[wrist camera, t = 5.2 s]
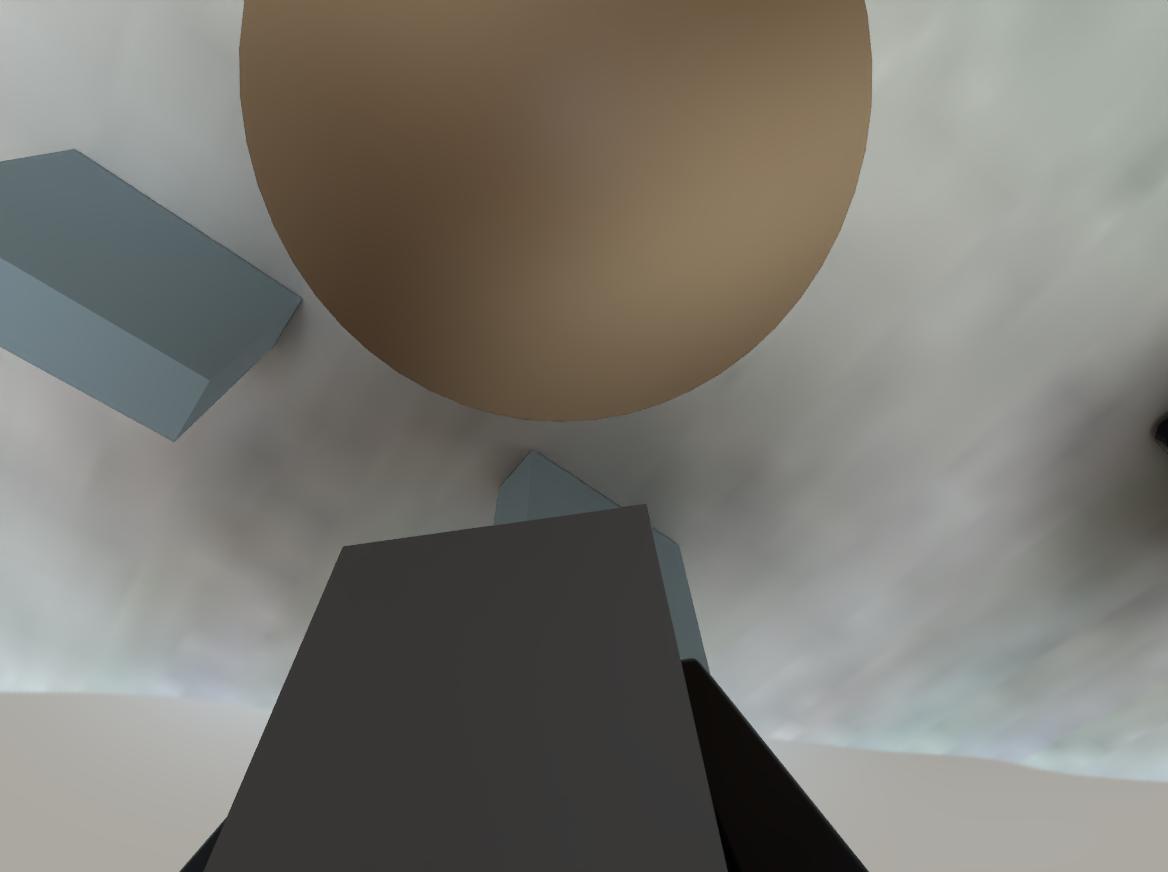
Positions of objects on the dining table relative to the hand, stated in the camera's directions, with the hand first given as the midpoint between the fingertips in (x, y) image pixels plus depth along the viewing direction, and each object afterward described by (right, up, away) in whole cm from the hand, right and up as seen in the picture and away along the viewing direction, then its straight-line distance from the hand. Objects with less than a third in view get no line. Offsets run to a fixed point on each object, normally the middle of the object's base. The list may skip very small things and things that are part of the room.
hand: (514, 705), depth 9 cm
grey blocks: (-4, +4, +9) cm, 11 cm away
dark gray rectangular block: (0, +1, +1) cm, 1 cm away
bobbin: (0, +11, +6) cm, 12 cm away
